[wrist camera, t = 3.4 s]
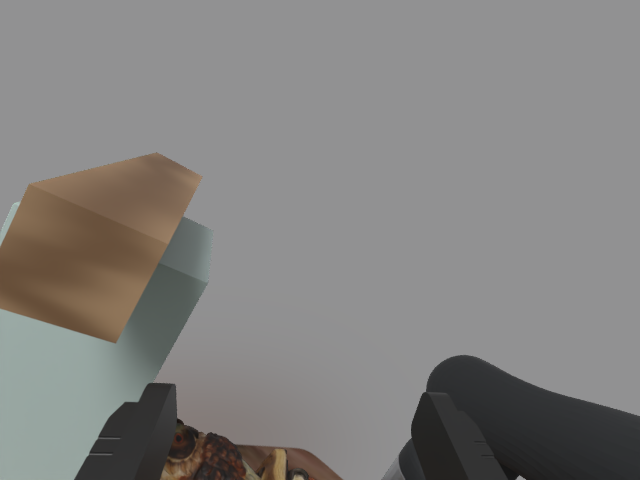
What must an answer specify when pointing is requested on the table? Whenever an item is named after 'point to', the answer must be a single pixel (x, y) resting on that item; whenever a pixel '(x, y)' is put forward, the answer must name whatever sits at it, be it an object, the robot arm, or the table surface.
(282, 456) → the bookend
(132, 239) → the walnut bar
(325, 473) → the table surface
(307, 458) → the table surface
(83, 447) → the stand
